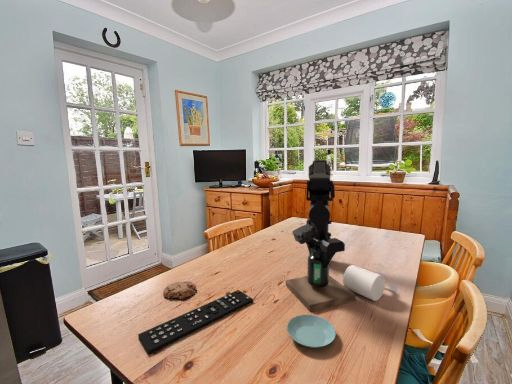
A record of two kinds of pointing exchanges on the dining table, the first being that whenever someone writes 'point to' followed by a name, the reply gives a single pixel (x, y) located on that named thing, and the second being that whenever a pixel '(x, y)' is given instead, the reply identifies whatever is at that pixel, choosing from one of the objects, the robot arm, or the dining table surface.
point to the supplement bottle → (317, 269)
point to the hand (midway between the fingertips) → (318, 263)
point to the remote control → (192, 321)
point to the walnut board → (319, 293)
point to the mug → (364, 282)
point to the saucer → (311, 331)
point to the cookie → (179, 290)
